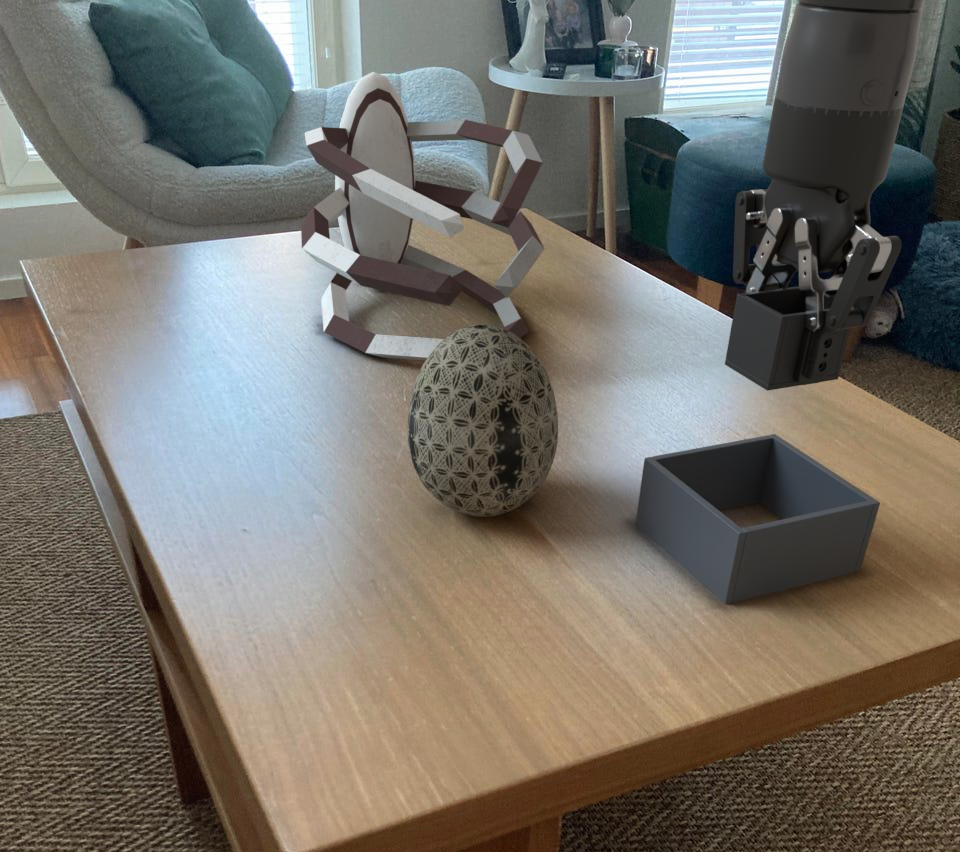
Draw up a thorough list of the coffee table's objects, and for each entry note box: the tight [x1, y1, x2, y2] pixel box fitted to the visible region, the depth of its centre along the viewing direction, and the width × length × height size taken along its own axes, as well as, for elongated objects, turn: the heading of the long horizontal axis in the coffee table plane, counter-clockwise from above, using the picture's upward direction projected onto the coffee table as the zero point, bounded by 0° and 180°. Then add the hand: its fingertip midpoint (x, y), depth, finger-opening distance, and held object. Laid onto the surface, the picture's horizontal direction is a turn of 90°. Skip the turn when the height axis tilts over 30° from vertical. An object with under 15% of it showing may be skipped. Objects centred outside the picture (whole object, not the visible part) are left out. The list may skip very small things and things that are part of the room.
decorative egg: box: [406, 323, 559, 518], centre depth 80 cm, size 12×12×15 cm
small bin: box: [724, 285, 854, 392], centre depth 70 cm, size 6×5×5 cm
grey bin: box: [635, 433, 881, 605], centre depth 78 cm, size 12×12×6 cm
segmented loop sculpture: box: [300, 71, 546, 362], centre depth 112 cm, size 24×27×35 cm
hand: (782, 366), depth 72 cm, fingers closed on small bin, 5 cm apart
